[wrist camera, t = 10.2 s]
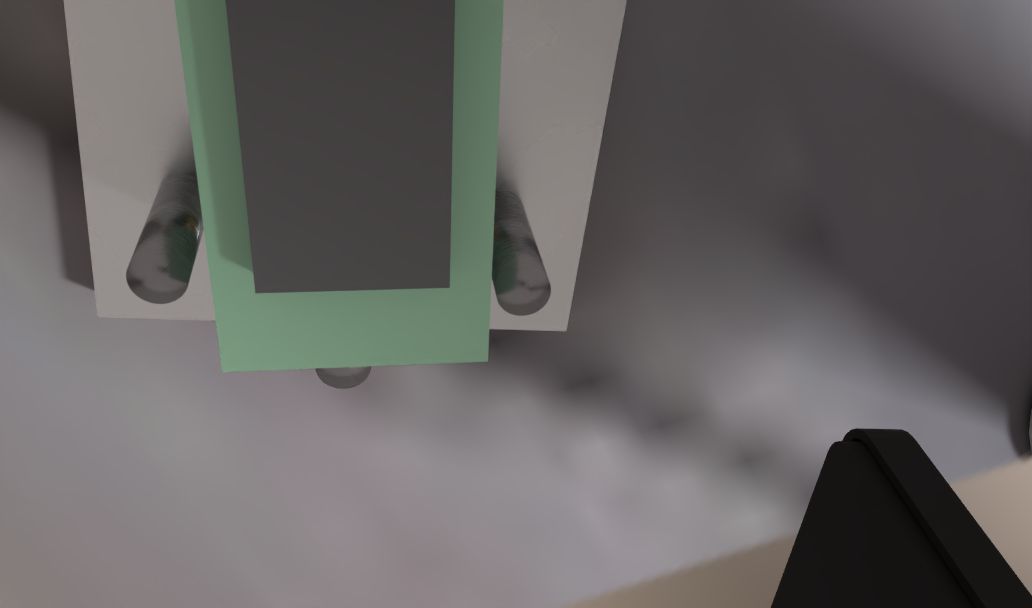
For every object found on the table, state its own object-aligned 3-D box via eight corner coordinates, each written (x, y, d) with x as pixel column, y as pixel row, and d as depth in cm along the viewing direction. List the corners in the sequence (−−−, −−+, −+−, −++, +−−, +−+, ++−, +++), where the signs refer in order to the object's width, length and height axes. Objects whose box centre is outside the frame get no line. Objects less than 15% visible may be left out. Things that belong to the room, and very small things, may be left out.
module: (187, -253, 20) (133, -238, 15) (480, -237, 21) (520, -218, 16) (243, 263, 26) (218, 393, 21) (466, 258, 27) (492, 381, 22)
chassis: (30, -450, 20) (-69, -498, 15) (674, -343, 23) (760, -354, 18) (106, 296, 29) (58, 412, 24) (559, 311, 32) (596, 419, 27)
